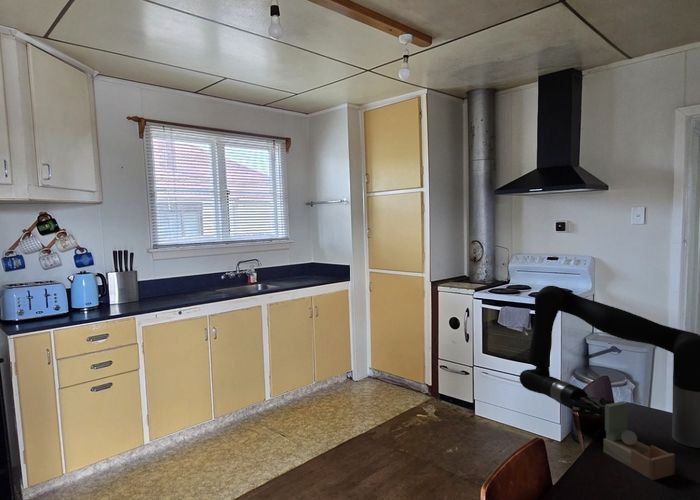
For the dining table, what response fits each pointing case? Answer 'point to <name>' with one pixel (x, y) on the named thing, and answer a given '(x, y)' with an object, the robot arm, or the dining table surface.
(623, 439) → the ball
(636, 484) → the dining table surface
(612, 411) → the green rectangular slab
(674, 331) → the robot arm
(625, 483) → the dining table surface
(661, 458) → the cup
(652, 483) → the dining table surface
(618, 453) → the beige open box
